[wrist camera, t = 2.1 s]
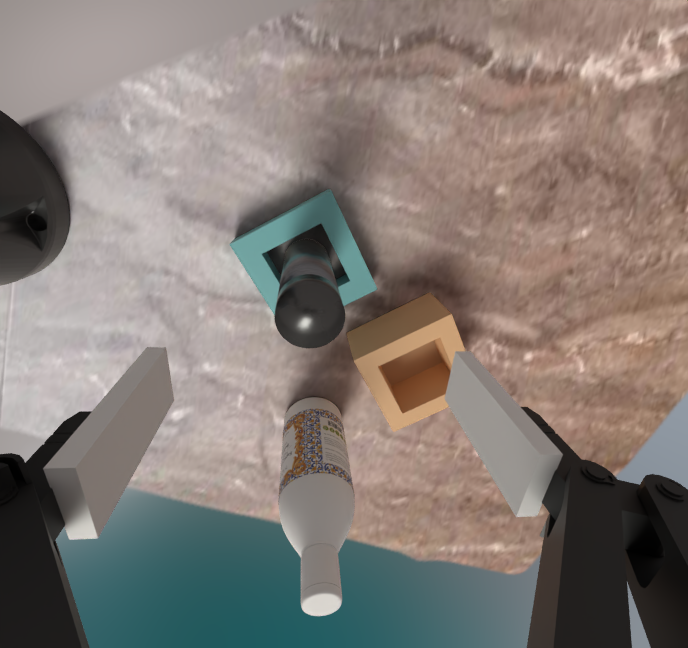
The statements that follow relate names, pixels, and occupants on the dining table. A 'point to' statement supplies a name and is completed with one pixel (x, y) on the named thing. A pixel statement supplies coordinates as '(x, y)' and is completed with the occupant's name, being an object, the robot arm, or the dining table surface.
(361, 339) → the socket
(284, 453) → the bath foam
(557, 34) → the dining table surface
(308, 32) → the dining table surface
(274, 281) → the mount
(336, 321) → the pin
